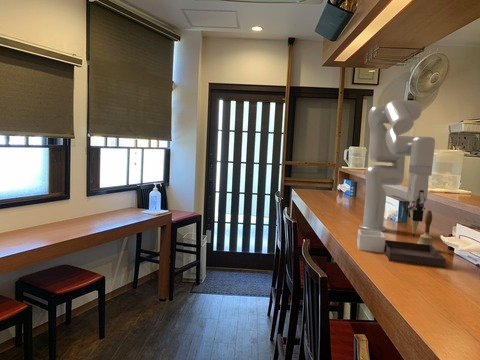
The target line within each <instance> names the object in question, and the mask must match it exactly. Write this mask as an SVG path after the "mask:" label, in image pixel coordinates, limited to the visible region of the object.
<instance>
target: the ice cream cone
mask: <svg viewBox="0 0 480 360" xmlns="http://www.w3.org/2000/svg"><path fill="white" fill-rule="evenodd" d="M419 202H420V201H419ZM407 208H408V210H409V209H410V215H411V218H410V221H411V231H412V238H415V234H416V232H417V229H418V226H419V223H420V221H413V220H412V219H413V210H415V201H414V202H412V201H411V202H409V204H408V205H407ZM425 210H426V208H425V207H424V210H423V212H424V211H425Z"/></svg>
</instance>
